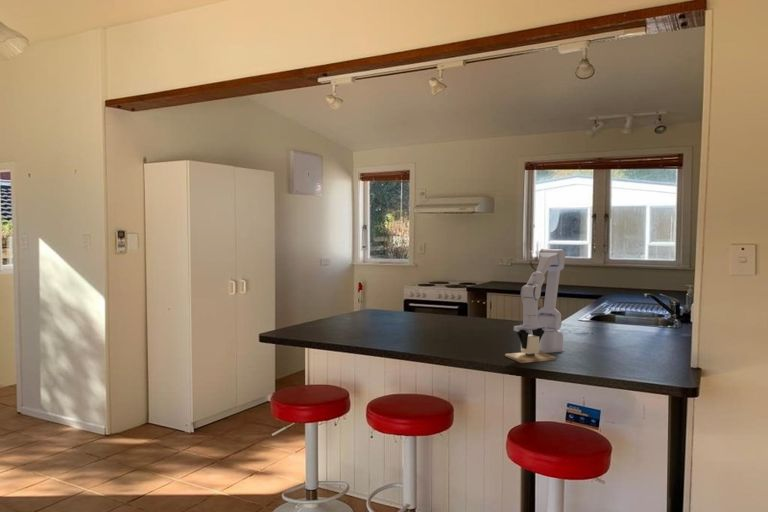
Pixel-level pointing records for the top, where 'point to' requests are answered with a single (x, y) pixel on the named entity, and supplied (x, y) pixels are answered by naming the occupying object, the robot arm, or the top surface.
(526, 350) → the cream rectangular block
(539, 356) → the post board
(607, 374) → the top surface
